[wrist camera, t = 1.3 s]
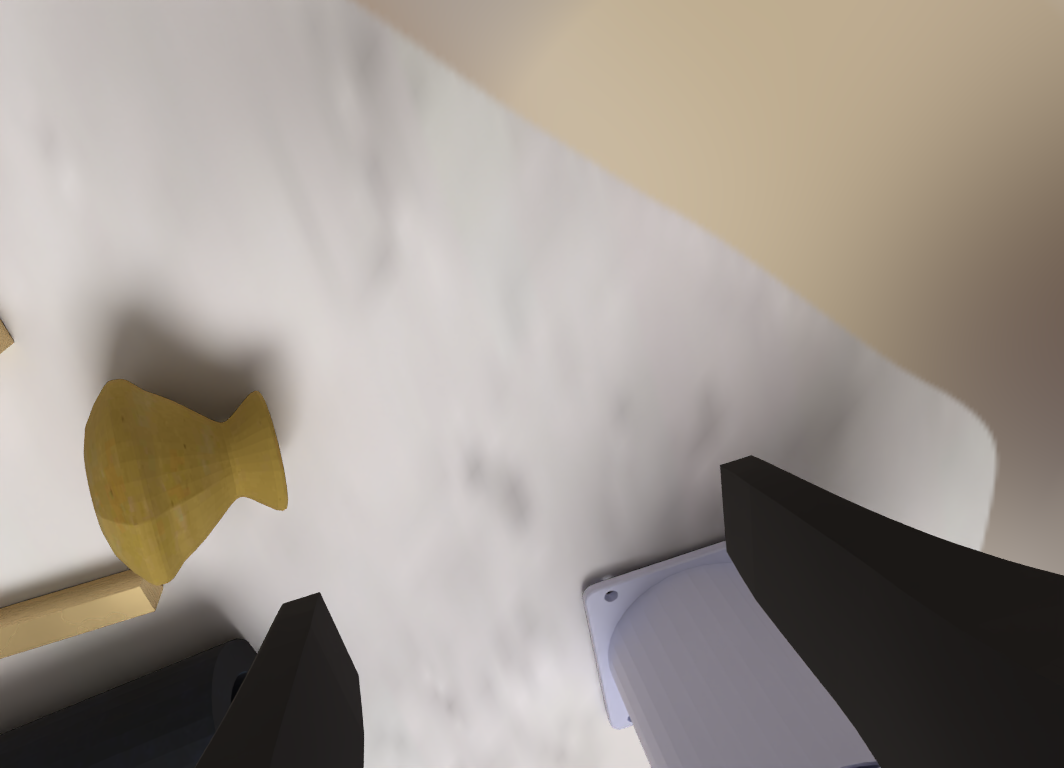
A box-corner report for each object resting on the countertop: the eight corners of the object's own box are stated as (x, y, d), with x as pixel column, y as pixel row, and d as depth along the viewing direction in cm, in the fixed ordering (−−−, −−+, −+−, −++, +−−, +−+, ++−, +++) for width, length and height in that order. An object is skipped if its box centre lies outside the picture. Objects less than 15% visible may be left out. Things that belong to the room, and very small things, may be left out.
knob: (137, 514, 20) (76, 643, 15) (90, 351, 17) (4, 447, 13) (305, 494, 21) (293, 610, 16) (282, 338, 18) (260, 423, 14)
